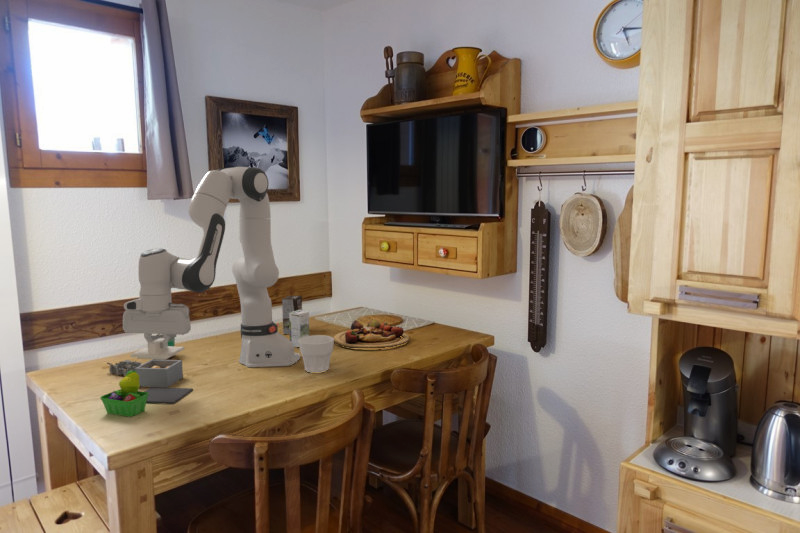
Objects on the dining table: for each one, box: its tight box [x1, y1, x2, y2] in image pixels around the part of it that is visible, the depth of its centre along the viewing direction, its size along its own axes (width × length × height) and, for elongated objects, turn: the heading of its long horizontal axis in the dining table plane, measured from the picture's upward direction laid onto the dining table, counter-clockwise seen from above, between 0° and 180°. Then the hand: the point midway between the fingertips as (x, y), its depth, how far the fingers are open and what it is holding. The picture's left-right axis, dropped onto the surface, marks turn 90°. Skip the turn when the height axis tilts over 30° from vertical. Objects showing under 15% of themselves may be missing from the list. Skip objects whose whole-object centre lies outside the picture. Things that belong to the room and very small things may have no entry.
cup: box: [298, 334, 335, 373], centre depth 200 cm, size 12×12×11 cm
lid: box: [130, 338, 185, 360], centre depth 174 cm, size 11×10×5 cm
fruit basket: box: [99, 371, 149, 418], centre depth 164 cm, size 11×9×11 cm
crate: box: [135, 359, 184, 388], centre depth 190 cm, size 11×10×6 cm
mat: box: [143, 387, 194, 405], centre depth 176 cm, size 14×12×1 cm
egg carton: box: [106, 359, 143, 377], centre depth 201 cm, size 11×8×4 cm
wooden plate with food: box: [333, 318, 410, 348], centre depth 240 cm, size 32×32×8 cm
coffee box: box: [281, 295, 303, 335], centre depth 255 cm, size 9×6×16 cm
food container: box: [151, 334, 177, 360], centre depth 217 cm, size 12×6×10 cm, turn 168°
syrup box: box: [289, 309, 310, 347], centre depth 232 cm, size 6×6×14 cm
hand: (157, 347), depth 174 cm, fingers closed on lid, 2 cm apart
